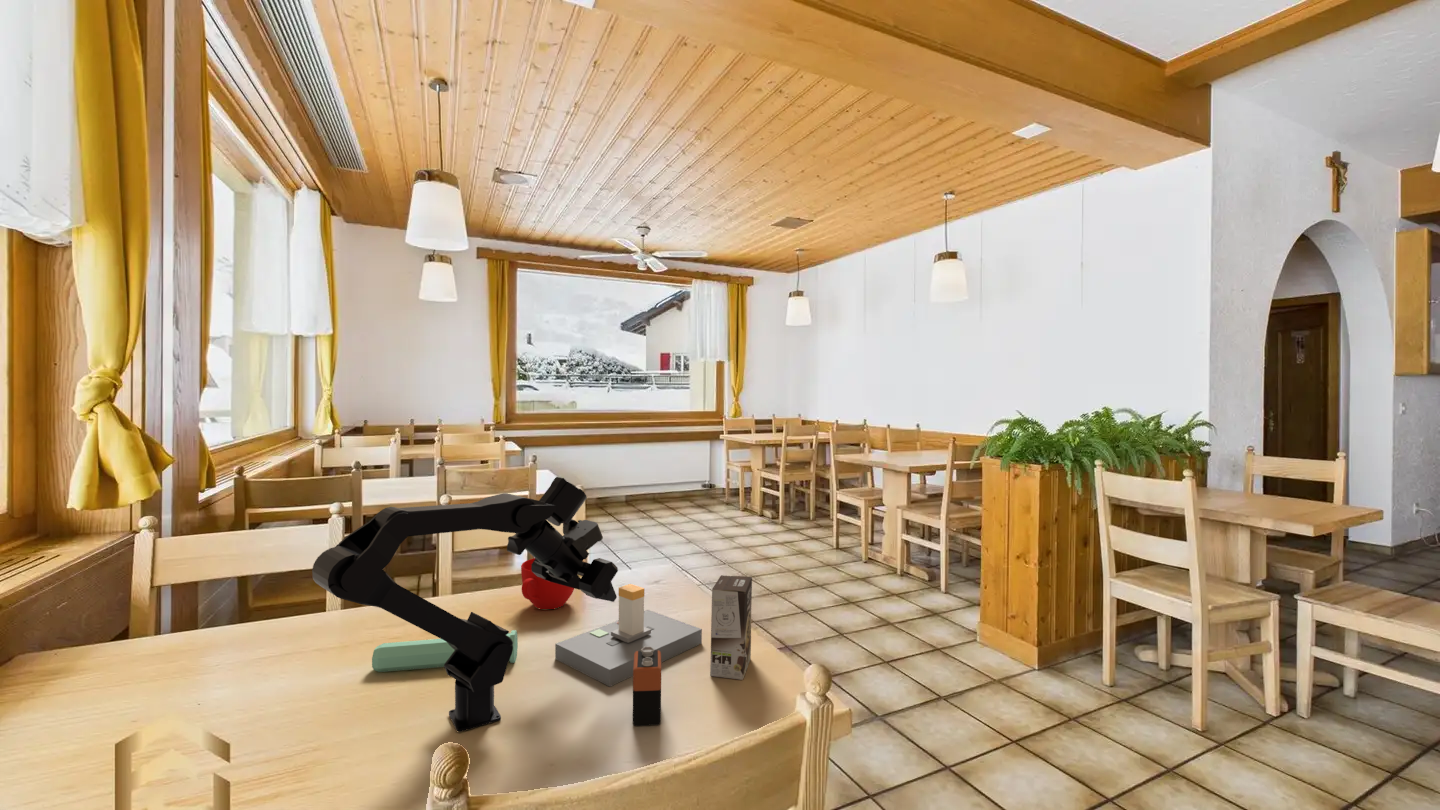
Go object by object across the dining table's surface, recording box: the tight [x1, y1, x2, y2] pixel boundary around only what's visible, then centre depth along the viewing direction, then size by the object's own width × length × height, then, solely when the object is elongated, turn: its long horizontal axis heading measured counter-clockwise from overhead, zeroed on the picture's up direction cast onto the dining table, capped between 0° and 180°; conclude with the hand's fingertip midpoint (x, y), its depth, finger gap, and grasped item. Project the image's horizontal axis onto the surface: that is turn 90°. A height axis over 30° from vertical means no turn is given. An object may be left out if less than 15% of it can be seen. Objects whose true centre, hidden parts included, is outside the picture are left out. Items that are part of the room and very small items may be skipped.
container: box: [371, 629, 519, 673], centre depth 115 cm, size 6×6×25 cm
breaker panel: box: [554, 609, 703, 688], centre depth 122 cm, size 24×16×3 cm, turn 140°
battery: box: [632, 647, 662, 727], centre depth 99 cm, size 4×7×10 cm, turn 6°
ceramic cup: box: [520, 557, 575, 610], centre depth 144 cm, size 13×17×10 cm
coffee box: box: [709, 574, 753, 681], centre depth 115 cm, size 9×6×16 cm
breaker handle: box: [611, 583, 651, 643], centre depth 122 cm, size 6×5×9 cm
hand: (598, 593), depth 115 cm, fingers open, 9 cm apart
